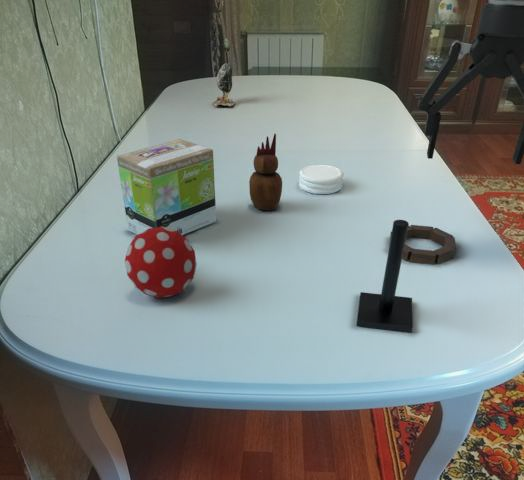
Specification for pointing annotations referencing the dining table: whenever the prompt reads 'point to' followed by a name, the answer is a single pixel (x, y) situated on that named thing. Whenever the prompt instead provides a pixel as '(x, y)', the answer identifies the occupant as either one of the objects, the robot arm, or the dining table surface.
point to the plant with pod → (225, 80)
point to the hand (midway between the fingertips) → (472, 158)
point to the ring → (429, 255)
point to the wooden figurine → (266, 178)
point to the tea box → (168, 187)
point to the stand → (388, 291)
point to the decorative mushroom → (160, 262)
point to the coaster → (321, 179)
